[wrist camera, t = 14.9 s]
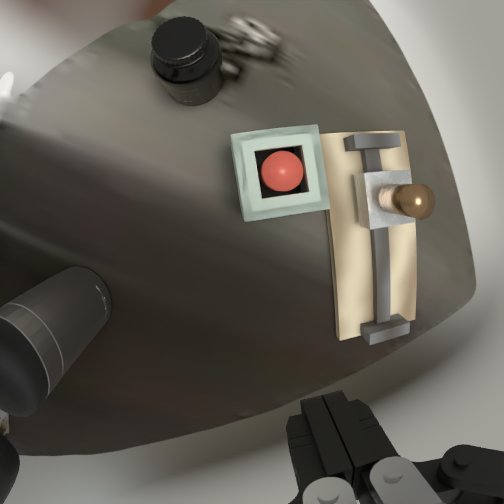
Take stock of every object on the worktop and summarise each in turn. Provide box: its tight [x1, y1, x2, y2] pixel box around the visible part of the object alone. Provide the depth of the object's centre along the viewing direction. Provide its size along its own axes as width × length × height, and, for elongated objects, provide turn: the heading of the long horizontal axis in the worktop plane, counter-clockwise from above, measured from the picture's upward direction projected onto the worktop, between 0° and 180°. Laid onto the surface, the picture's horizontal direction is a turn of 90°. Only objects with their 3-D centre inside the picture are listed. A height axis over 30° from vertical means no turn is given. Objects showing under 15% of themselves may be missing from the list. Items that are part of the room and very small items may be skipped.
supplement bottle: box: [150, 16, 223, 105], centre depth 25 cm, size 7×7×12 cm
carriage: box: [354, 169, 435, 230], centre depth 29 cm, size 6×6×10 cm
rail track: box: [319, 131, 417, 345], centre depth 34 cm, size 12×26×5 cm, turn 9°
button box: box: [231, 125, 330, 222], centre depth 30 cm, size 8×8×8 cm
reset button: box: [259, 151, 303, 191], centre depth 28 cm, size 4×4×4 cm
